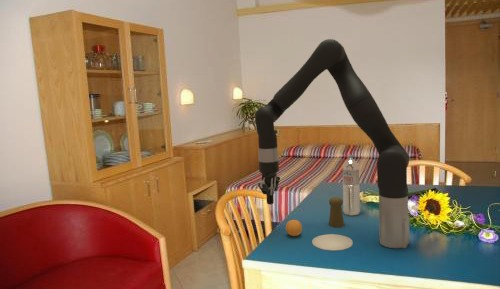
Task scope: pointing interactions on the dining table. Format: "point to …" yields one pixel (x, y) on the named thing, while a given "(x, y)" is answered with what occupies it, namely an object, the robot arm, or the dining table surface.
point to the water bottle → (351, 187)
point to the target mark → (332, 242)
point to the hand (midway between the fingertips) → (270, 203)
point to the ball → (293, 227)
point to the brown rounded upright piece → (336, 212)
